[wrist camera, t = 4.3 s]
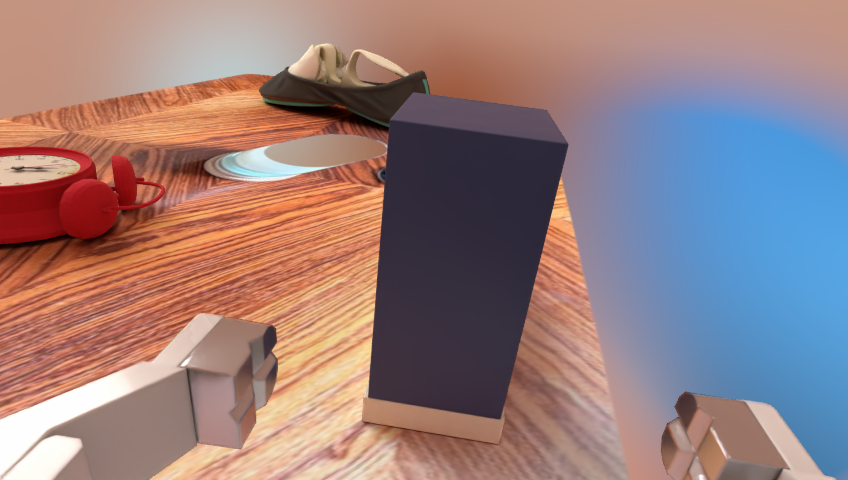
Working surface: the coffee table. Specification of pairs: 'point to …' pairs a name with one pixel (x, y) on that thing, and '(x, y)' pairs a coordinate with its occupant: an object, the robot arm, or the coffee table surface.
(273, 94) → the ballet flat
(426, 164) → the dark blue l-shaped block
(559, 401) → the coffee table surface
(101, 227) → the alarm clock
